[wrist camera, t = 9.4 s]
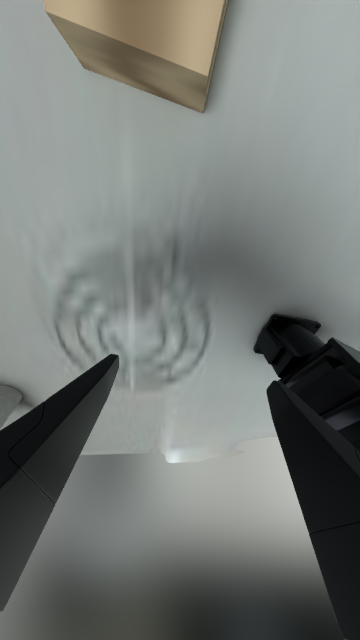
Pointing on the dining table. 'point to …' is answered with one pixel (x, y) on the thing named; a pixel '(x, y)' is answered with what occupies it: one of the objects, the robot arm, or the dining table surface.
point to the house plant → (8, 402)
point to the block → (146, 42)
